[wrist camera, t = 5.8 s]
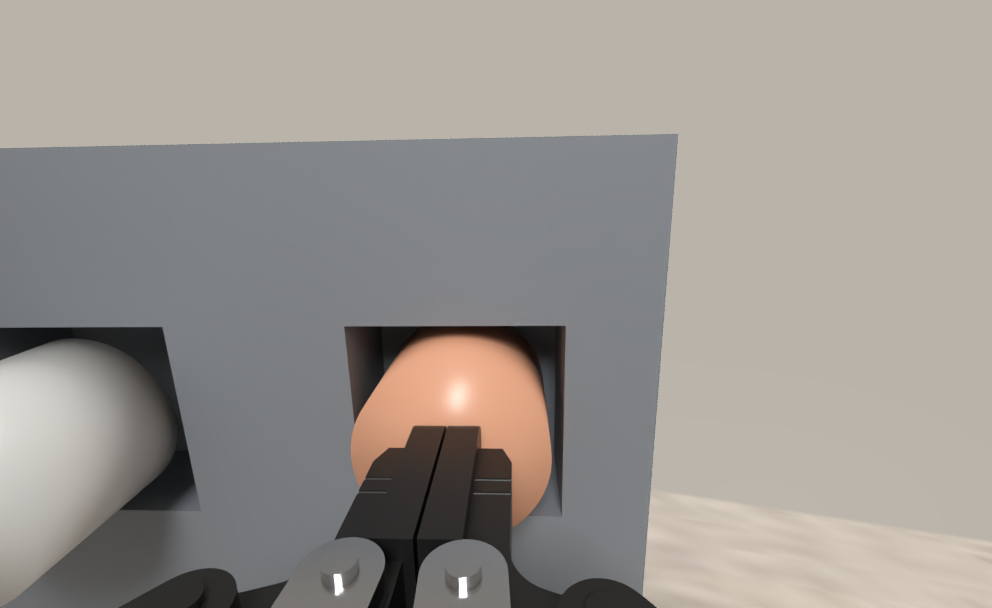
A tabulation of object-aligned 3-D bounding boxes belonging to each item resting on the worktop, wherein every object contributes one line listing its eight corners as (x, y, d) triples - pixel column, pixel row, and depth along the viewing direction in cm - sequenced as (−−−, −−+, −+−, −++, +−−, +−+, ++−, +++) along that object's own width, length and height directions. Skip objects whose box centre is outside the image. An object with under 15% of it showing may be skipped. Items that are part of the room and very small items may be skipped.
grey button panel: (-285, 665, 16) (-579, 160, 12) (-74, 534, 22) (-219, 163, 18) (634, 694, 15) (678, 134, 10) (601, 546, 20) (620, 146, 16)
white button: (-146, 611, 10) (-239, 412, 9) (36, 489, 14) (-11, 338, 13) (65, 616, 10) (0, 413, 9) (191, 491, 14) (158, 338, 13)
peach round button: (360, 541, 12) (340, 365, 11) (398, 449, 16) (388, 312, 14) (550, 545, 12) (553, 365, 10) (542, 450, 15) (543, 311, 14)
